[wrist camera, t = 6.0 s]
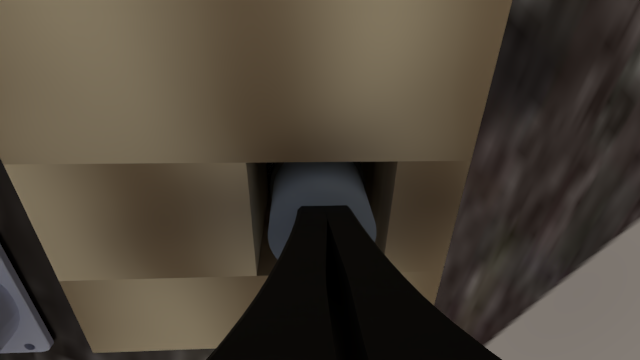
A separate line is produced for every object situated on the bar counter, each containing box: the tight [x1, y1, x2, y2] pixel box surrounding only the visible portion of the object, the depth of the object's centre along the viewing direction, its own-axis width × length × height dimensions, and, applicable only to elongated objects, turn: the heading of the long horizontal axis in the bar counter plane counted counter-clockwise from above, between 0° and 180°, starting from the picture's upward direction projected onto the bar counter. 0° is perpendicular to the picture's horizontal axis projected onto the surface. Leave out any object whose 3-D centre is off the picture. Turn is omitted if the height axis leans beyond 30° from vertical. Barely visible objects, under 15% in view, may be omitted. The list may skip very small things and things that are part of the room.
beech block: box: [0, 0, 512, 353], centre depth 10 cm, size 12×20×5 cm, turn 179°
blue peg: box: [268, 162, 376, 259], centre depth 12 cm, size 3×3×4 cm
